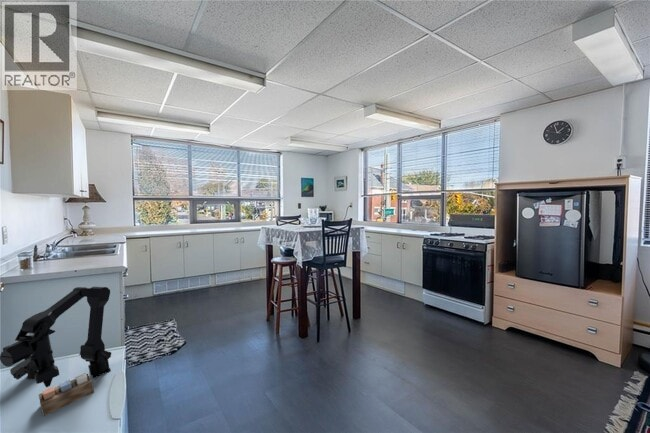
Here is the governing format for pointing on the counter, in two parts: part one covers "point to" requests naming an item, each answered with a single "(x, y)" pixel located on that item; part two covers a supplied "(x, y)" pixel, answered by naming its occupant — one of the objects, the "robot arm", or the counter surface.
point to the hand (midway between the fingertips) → (47, 386)
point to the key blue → (65, 386)
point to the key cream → (81, 379)
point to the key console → (66, 396)
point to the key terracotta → (48, 393)
